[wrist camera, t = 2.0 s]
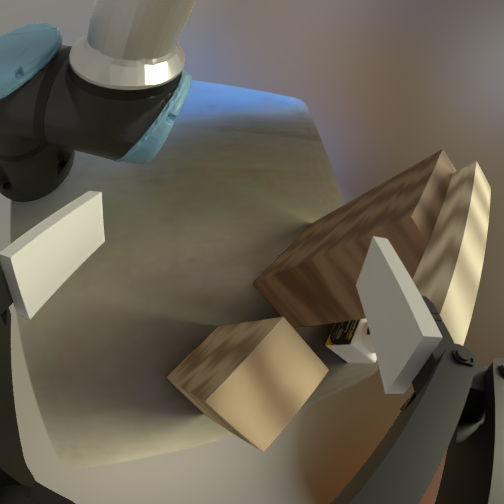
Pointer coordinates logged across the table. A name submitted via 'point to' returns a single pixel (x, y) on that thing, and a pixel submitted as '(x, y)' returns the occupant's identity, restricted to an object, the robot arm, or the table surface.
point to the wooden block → (457, 251)
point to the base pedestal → (250, 378)
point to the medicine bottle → (352, 341)
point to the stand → (356, 245)
